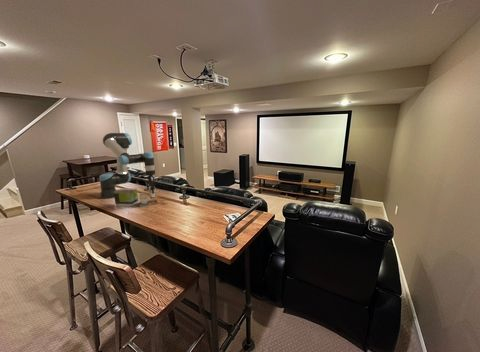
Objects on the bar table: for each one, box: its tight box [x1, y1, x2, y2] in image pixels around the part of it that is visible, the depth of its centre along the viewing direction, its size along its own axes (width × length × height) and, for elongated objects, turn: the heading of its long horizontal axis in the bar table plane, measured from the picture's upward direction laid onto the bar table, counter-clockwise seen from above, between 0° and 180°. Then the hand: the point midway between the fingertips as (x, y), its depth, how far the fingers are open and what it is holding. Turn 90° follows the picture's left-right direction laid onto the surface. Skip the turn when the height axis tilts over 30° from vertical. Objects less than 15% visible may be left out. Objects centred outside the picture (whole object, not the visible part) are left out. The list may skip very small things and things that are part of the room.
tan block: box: [139, 192, 148, 205], centre depth 166 cm, size 4×4×10 cm
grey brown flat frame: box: [138, 199, 160, 208], centre depth 169 cm, size 9×15×3 cm, turn 123°
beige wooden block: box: [148, 186, 157, 200], centre depth 169 cm, size 4×4×10 cm
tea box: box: [113, 187, 139, 208], centre depth 168 cm, size 15×10×15 cm, turn 84°
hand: (152, 196), depth 170 cm, fingers closed on beige wooden block, 4 cm apart
